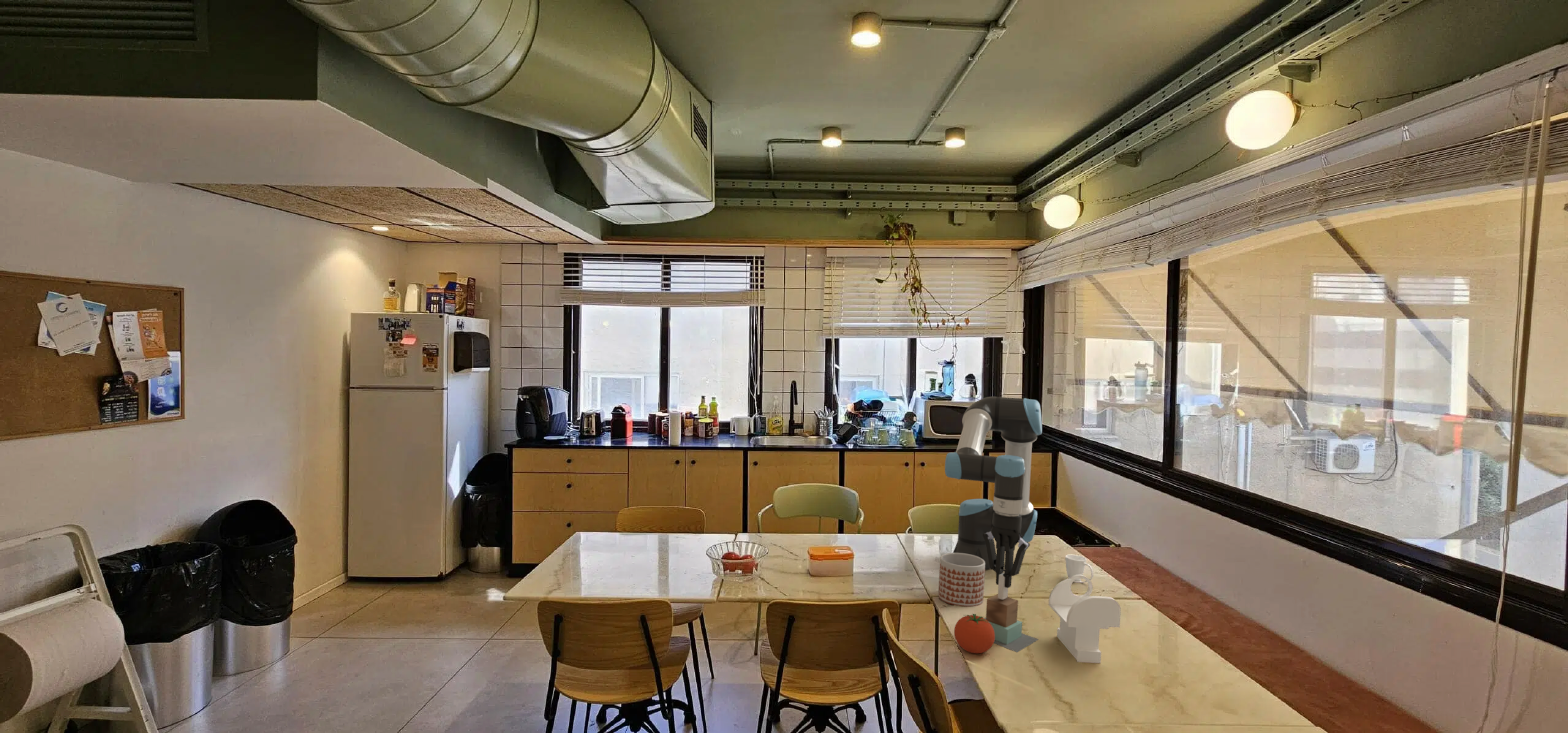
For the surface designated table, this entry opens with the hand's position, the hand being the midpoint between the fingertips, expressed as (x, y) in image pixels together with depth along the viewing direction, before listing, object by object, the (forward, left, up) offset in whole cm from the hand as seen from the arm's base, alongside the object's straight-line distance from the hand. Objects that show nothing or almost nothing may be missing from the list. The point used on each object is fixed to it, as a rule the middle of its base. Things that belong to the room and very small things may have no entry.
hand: (1002, 597), depth 185 cm
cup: (-5, +62, -11) cm, 63 cm away
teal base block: (0, 0, -11) cm, 11 cm away
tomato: (0, -14, -11) cm, 18 cm away
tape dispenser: (+18, +10, -11) cm, 23 cm away
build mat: (0, 0, -11) cm, 11 cm away
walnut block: (0, 0, -7) cm, 7 cm away
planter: (-22, +15, -11) cm, 29 cm away
